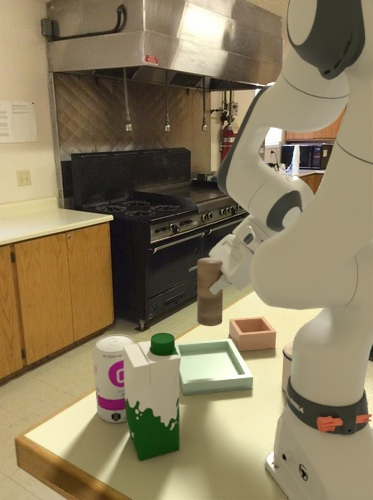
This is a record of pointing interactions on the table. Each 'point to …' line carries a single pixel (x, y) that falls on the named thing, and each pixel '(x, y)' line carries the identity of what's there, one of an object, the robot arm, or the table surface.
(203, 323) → the walnut canister
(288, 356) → the teacup with lid
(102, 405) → the supplement can
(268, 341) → the terracotta holder
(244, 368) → the sage tray
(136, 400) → the milk carton
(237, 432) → the table surface
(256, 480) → the table surface
